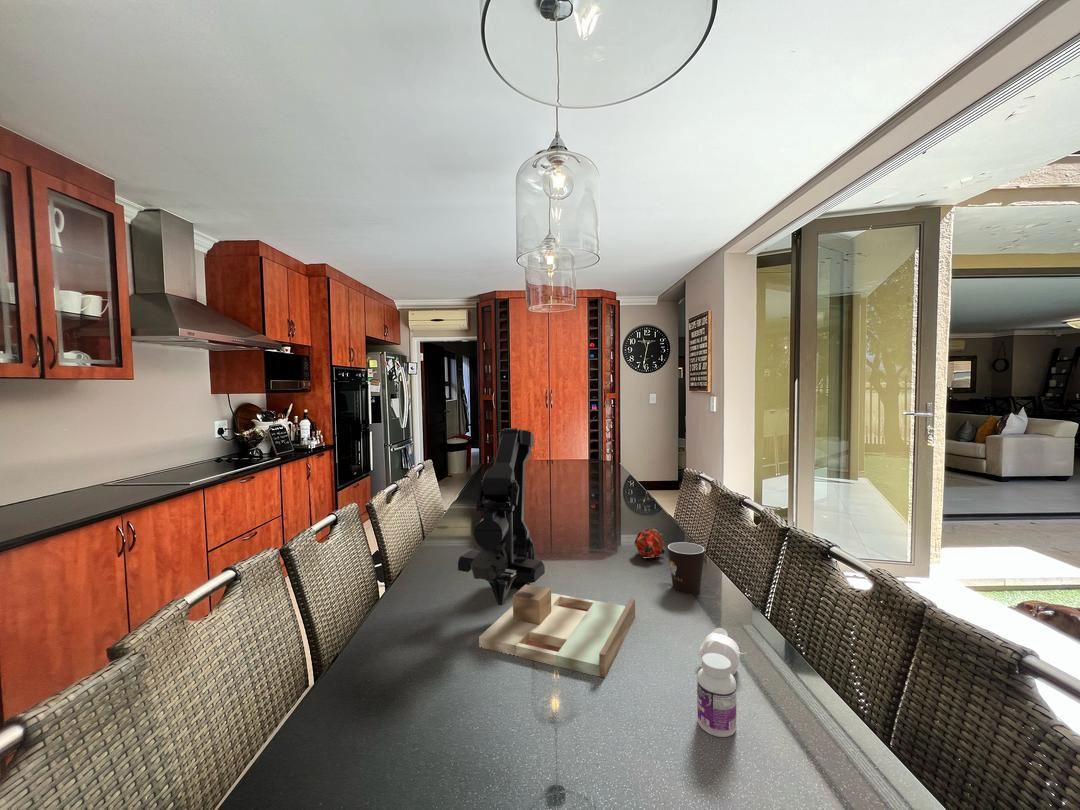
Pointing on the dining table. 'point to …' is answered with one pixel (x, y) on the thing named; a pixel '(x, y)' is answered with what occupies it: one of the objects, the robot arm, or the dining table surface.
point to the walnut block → (532, 604)
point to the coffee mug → (686, 566)
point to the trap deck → (566, 634)
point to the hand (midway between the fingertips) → (501, 604)
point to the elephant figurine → (722, 647)
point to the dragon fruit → (650, 543)
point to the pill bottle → (716, 696)
